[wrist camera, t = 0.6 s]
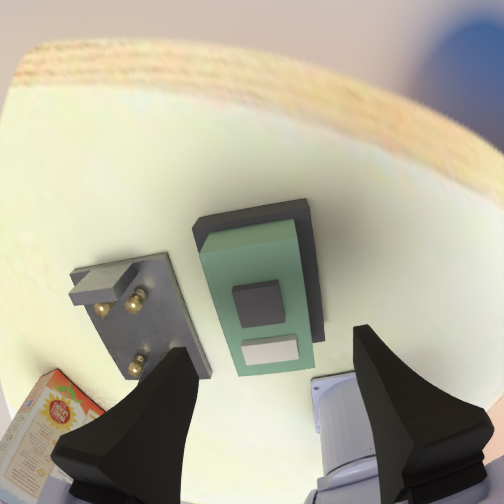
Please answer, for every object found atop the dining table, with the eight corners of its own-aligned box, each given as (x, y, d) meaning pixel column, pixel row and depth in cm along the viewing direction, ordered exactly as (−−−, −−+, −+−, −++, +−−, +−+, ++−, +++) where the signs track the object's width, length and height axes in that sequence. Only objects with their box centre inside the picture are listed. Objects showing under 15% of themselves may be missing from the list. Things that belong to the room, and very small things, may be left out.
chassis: (212, 372, 26) (204, 409, 22) (128, 374, 27) (113, 405, 23) (166, 252, 21) (145, 282, 17) (74, 269, 22) (46, 296, 19)
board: (311, 338, 21) (315, 374, 18) (242, 347, 22) (237, 383, 19) (293, 218, 18) (298, 242, 14) (209, 232, 18) (196, 259, 15)
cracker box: (39, 376, 30) (-31, 495, 11) (58, 366, 28) (-21, 505, 9) (113, 439, 35) (71, 555, 16) (138, 436, 33) (96, 568, 14)
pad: (321, 324, 23) (325, 341, 21) (233, 336, 24) (230, 353, 22) (305, 198, 19) (309, 207, 17) (198, 217, 20) (191, 228, 18)
